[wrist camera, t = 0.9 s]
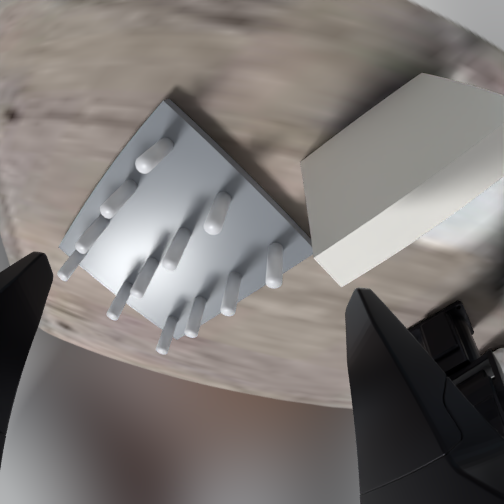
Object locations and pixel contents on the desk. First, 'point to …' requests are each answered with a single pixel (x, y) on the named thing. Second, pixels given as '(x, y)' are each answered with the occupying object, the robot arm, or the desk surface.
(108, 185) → the dish rack
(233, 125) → the desk surface
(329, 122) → the desk surface
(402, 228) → the white rectangular slab
